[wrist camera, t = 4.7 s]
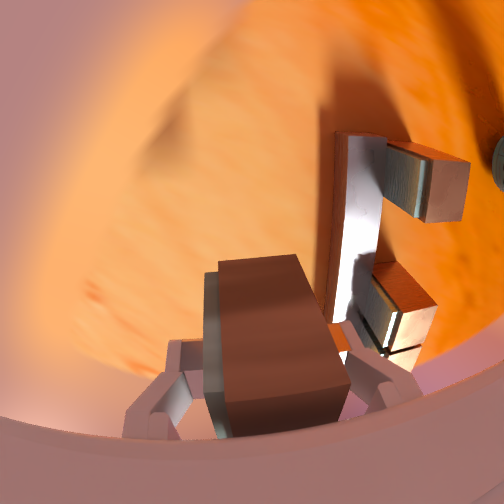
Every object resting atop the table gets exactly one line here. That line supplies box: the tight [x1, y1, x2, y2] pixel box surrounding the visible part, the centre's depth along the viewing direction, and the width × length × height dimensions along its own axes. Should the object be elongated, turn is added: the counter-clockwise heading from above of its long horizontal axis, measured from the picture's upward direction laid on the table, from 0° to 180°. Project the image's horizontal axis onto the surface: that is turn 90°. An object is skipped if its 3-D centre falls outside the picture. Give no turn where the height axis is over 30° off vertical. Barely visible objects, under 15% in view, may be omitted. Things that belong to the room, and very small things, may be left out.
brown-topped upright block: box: [203, 254, 351, 439], centre depth 11 cm, size 4×4×7 cm
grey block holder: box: [324, 132, 471, 373], centre depth 22 cm, size 20×7×7 cm, turn 3°
